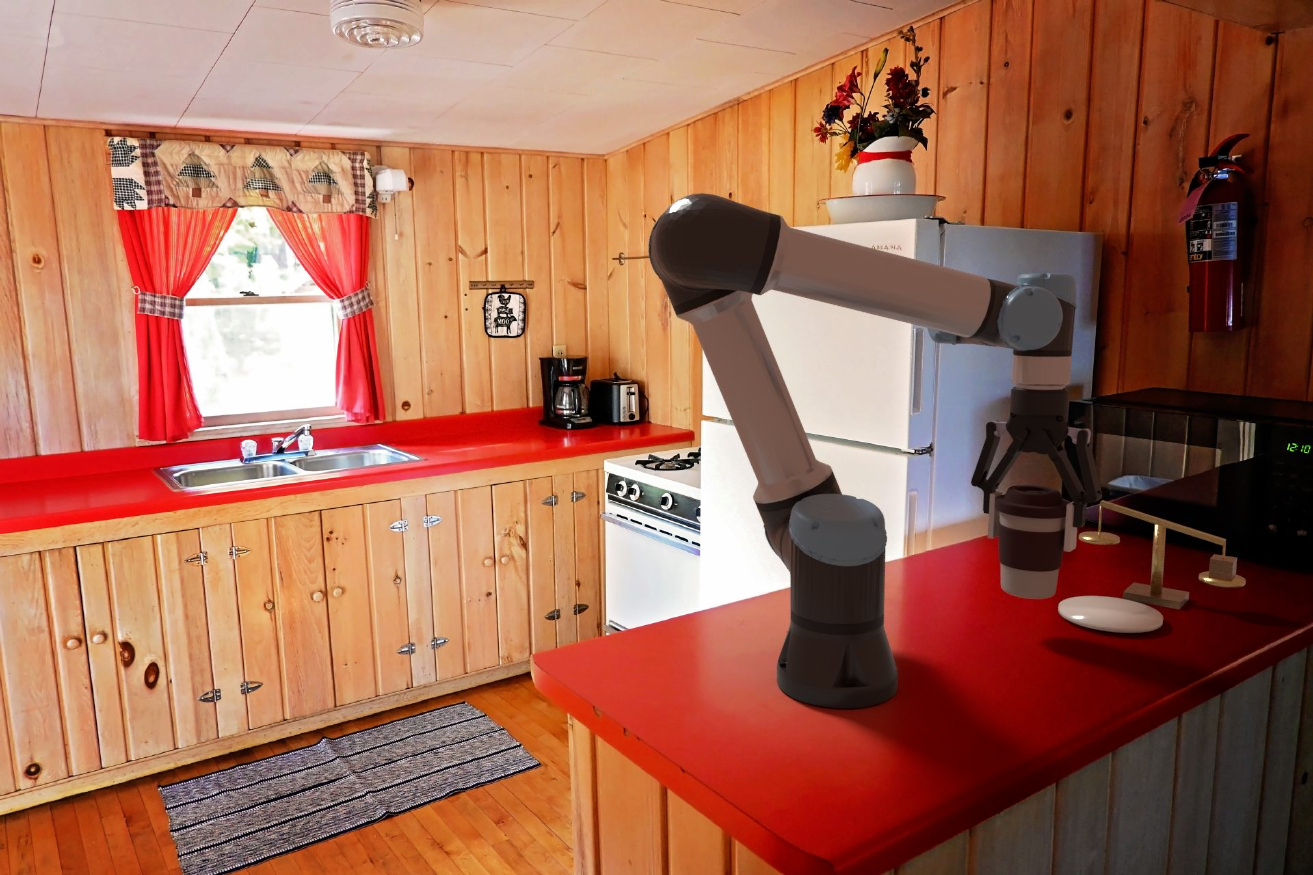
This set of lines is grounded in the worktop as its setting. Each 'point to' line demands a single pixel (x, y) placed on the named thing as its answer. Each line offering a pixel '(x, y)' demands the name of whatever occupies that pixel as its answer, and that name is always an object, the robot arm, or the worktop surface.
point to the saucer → (1110, 614)
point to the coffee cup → (1031, 540)
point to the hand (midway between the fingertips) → (1030, 542)
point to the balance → (1219, 569)
